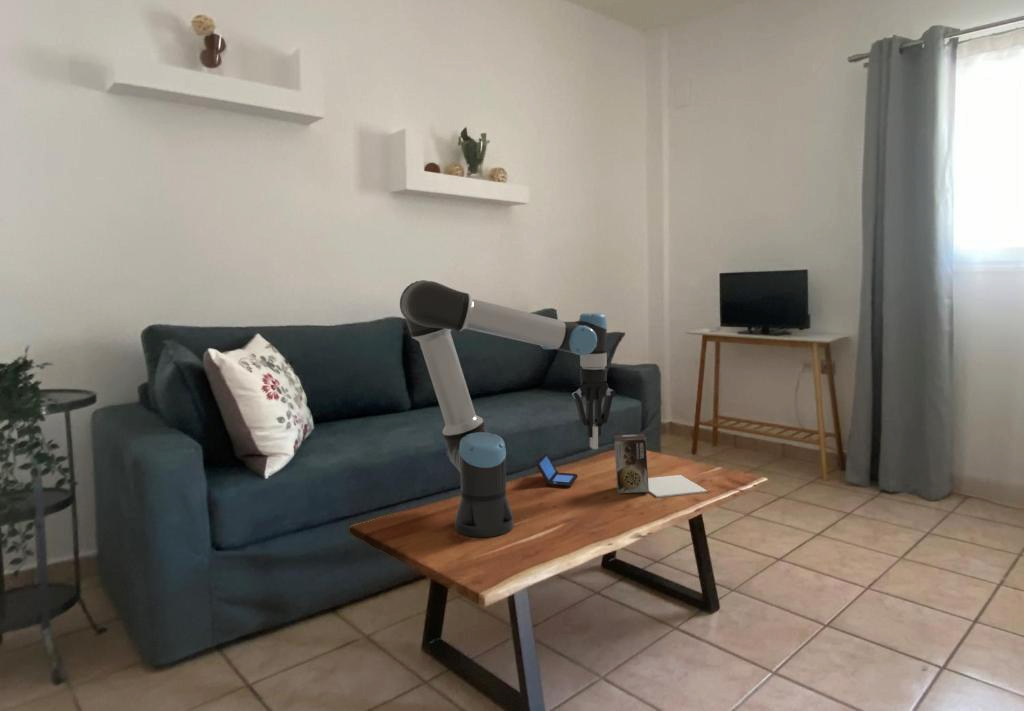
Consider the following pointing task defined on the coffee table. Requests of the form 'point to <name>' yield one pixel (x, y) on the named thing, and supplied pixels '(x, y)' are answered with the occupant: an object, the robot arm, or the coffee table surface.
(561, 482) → the handheld game console
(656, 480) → the felt mat
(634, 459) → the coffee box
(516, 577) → the coffee table surface
